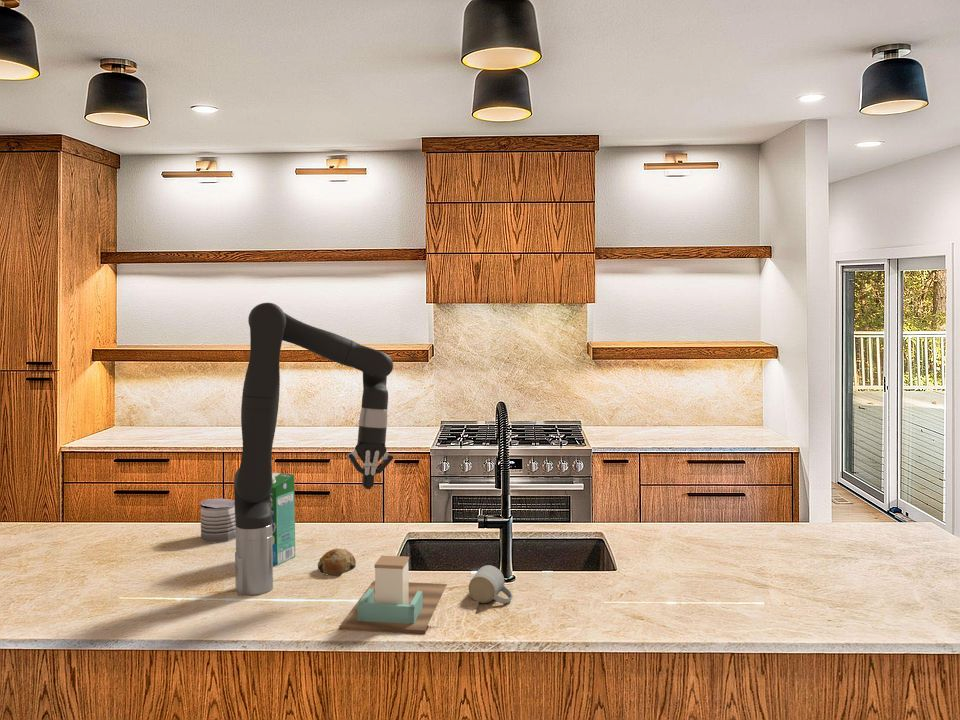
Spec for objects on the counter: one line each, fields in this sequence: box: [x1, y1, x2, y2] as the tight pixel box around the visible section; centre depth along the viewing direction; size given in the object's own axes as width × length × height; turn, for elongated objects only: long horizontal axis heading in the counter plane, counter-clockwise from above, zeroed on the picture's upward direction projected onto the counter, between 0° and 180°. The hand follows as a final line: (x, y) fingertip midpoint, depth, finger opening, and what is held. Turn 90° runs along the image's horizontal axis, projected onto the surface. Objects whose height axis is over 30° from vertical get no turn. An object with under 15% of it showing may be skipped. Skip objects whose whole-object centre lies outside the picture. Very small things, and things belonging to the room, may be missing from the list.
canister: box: [374, 555, 410, 605], centre depth 183 cm, size 7×7×13 cm
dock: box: [357, 588, 423, 624], centre depth 182 cm, size 10×13×4 cm
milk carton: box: [271, 471, 296, 566], centre depth 224 cm, size 9×9×25 cm
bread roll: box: [317, 548, 357, 576], centre depth 216 cm, size 10×10×8 cm
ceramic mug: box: [468, 564, 513, 605], centre depth 194 cm, size 11×8×8 cm
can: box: [199, 498, 236, 544], centre depth 246 cm, size 11×11×12 cm
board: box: [339, 580, 447, 635], centre depth 189 cm, size 30×20×1 cm, turn 173°
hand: (367, 488), depth 208 cm, fingers closed
